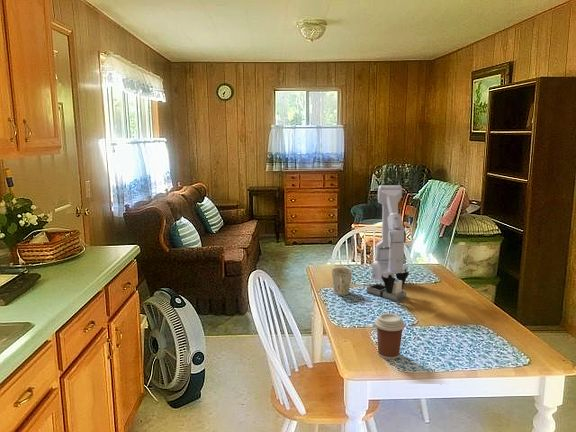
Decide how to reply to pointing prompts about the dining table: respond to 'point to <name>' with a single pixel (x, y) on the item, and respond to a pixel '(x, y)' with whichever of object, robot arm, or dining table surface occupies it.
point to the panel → (385, 293)
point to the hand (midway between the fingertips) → (394, 290)
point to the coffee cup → (389, 335)
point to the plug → (397, 287)
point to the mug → (341, 280)
